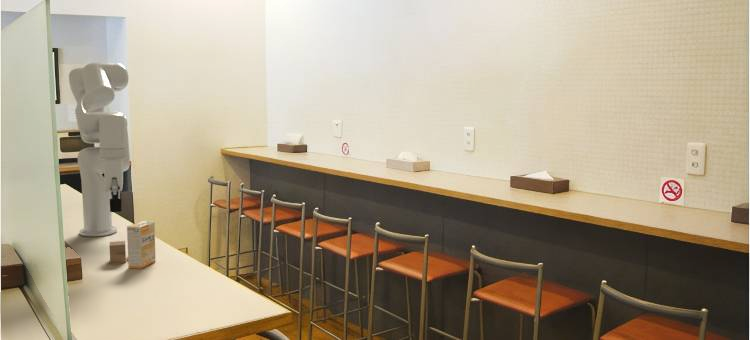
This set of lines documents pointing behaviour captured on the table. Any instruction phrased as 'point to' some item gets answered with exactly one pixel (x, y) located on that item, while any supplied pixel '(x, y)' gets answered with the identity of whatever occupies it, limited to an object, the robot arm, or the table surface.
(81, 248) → the table surface
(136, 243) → the supplement box
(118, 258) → the walnut block
